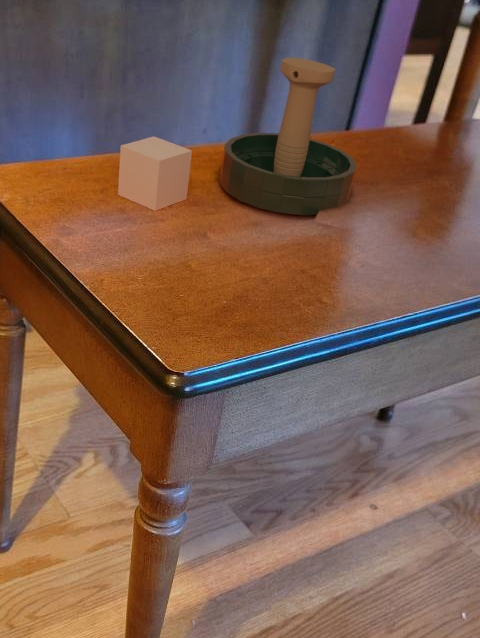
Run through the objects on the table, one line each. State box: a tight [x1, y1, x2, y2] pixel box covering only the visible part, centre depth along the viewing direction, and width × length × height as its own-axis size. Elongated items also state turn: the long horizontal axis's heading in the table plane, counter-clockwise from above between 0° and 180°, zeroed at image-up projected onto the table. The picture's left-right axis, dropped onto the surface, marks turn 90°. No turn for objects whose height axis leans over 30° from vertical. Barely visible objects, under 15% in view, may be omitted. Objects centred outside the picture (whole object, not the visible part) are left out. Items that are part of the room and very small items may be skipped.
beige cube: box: [117, 136, 193, 212], centre depth 89 cm, size 6×6×6 cm
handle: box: [274, 57, 336, 177], centre depth 91 cm, size 5×6×15 cm
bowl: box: [219, 132, 358, 216], centre depth 95 cm, size 17×17×5 cm
